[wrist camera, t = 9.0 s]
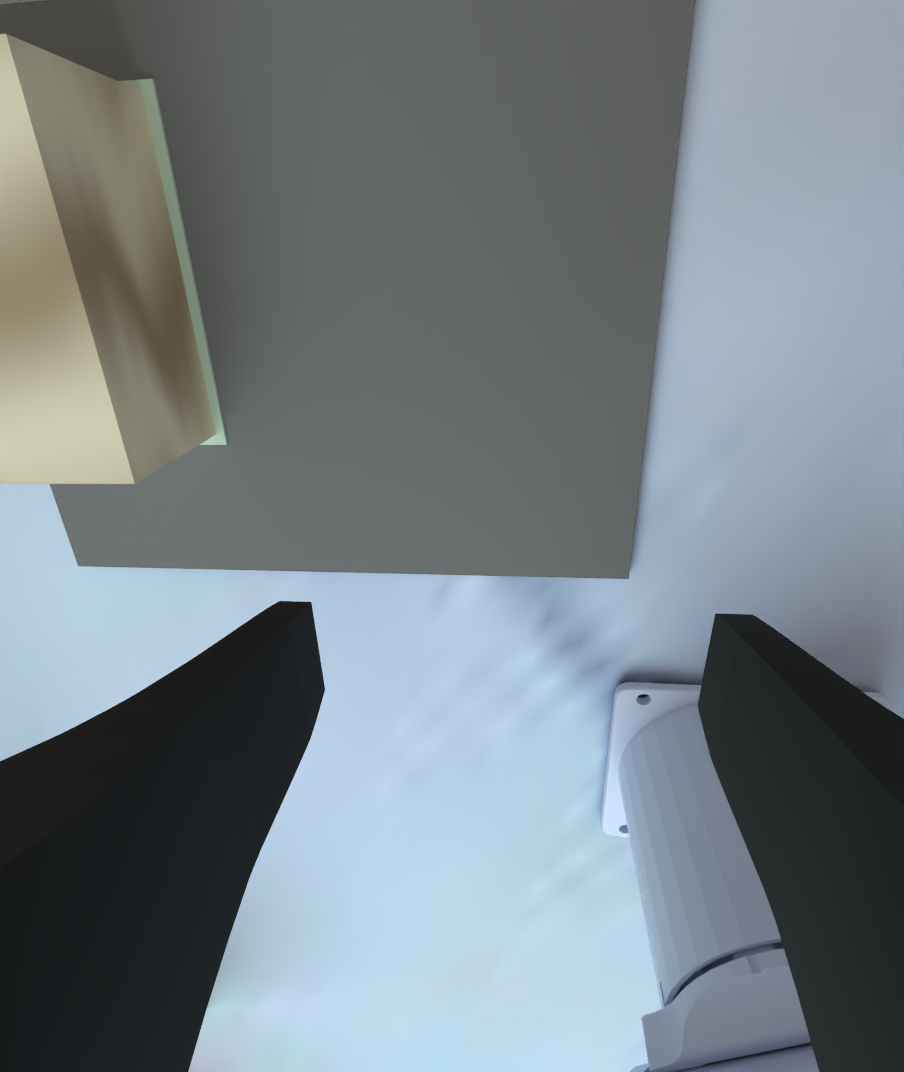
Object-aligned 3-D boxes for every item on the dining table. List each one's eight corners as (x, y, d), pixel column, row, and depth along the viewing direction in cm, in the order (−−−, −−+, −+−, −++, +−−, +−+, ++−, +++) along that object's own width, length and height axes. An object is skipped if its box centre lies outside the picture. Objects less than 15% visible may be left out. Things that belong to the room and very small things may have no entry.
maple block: (216, 434, 19) (134, 484, 15) (72, 435, 19) (-44, 483, 15) (142, 91, 15) (5, 33, 11) (-35, 104, 16) (-227, 53, 12)
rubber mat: (696, -47, 13) (702, -57, 13) (626, 573, 20) (628, 580, 20) (-99, 19, 15) (-119, 12, 15) (85, 561, 22) (76, 567, 22)
